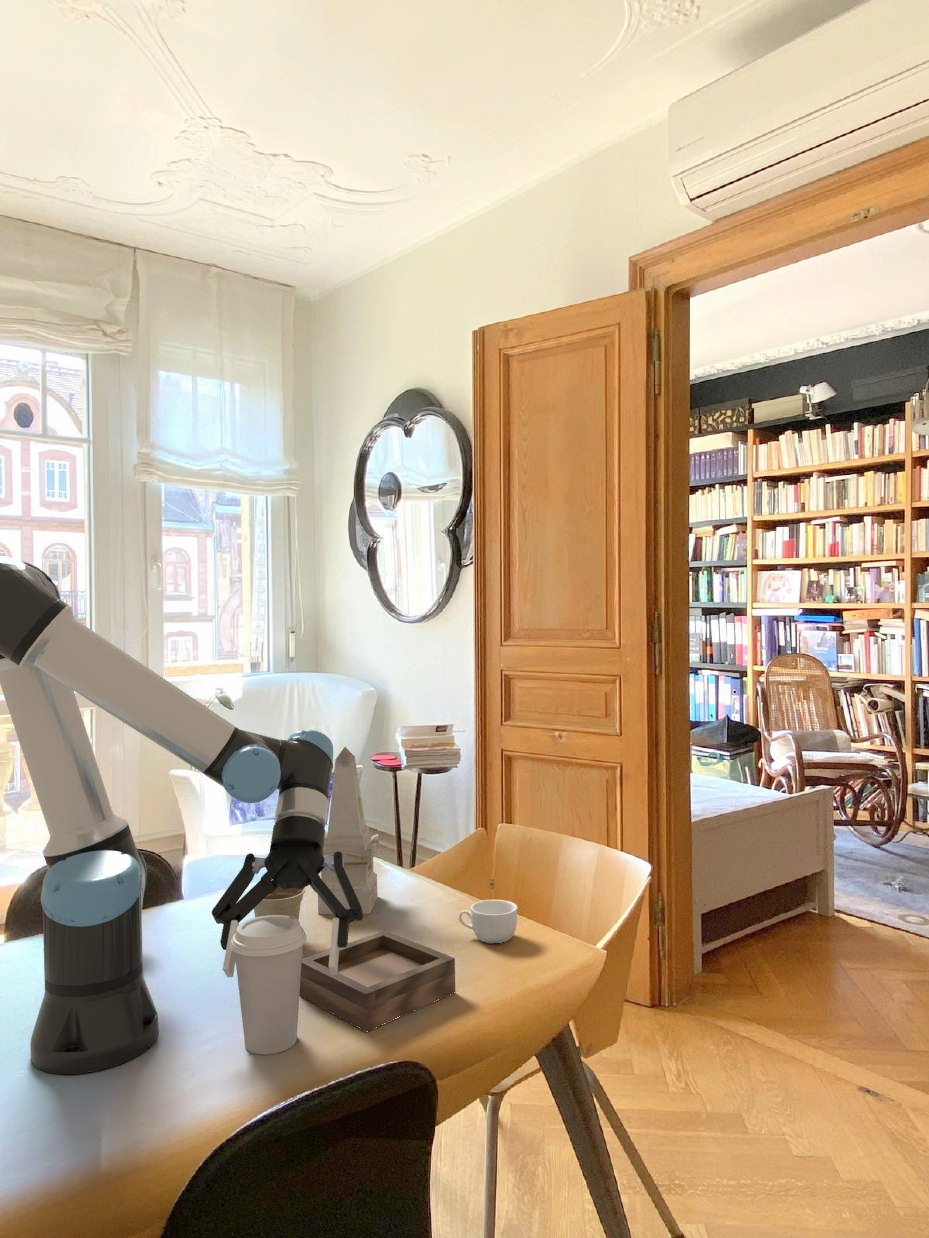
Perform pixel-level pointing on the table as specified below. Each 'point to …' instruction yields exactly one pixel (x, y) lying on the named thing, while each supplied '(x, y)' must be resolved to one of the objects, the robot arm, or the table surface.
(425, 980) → the walnut stand
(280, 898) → the flower pot
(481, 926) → the teacup
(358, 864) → the miniature monument
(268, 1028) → the coffee cup
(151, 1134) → the table surface
